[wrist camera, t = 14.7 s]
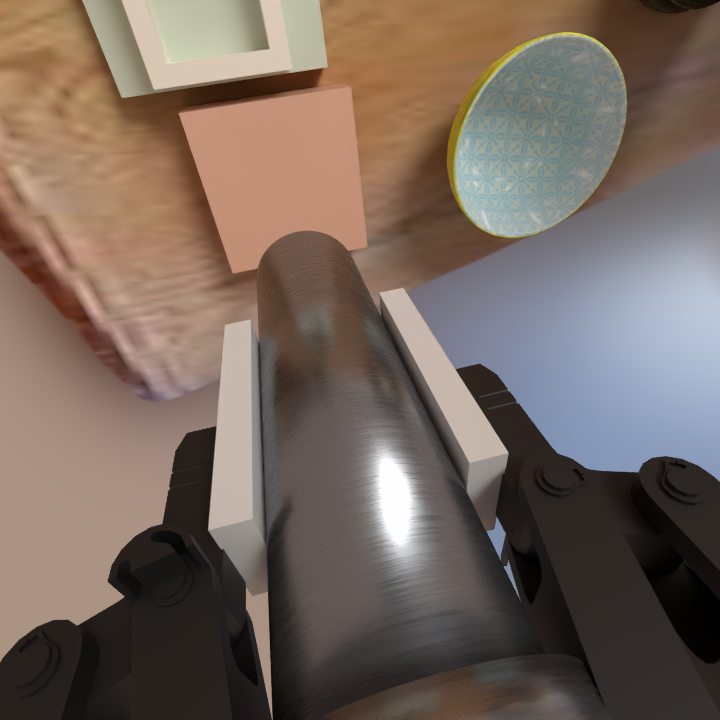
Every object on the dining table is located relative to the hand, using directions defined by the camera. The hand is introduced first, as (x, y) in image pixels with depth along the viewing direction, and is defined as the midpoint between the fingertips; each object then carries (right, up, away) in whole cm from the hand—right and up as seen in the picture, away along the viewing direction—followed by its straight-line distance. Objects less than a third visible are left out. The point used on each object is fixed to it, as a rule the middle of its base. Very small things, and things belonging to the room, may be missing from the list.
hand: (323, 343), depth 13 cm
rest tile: (-4, +12, +16) cm, 21 cm away
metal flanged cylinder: (-1, +3, +4) cm, 5 cm away
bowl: (+11, +16, +17) cm, 26 cm away
